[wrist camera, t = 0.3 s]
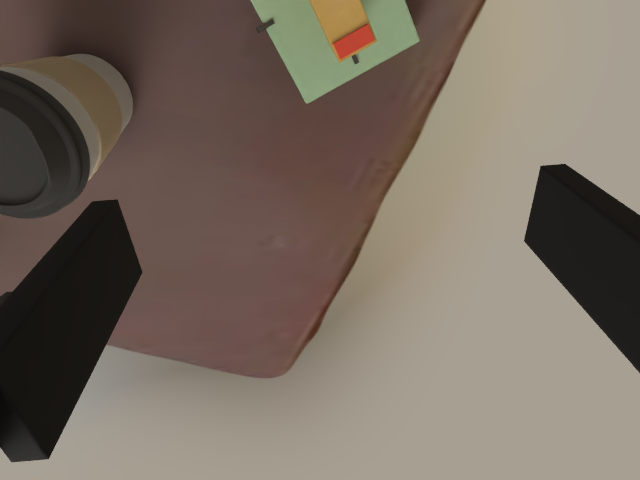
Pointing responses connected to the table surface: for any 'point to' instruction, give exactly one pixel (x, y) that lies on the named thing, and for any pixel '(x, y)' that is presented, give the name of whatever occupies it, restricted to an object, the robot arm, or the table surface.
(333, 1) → the yellow rectangular block
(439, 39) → the table surface
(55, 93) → the coffee cup
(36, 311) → the robot arm
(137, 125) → the table surface
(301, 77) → the plate
